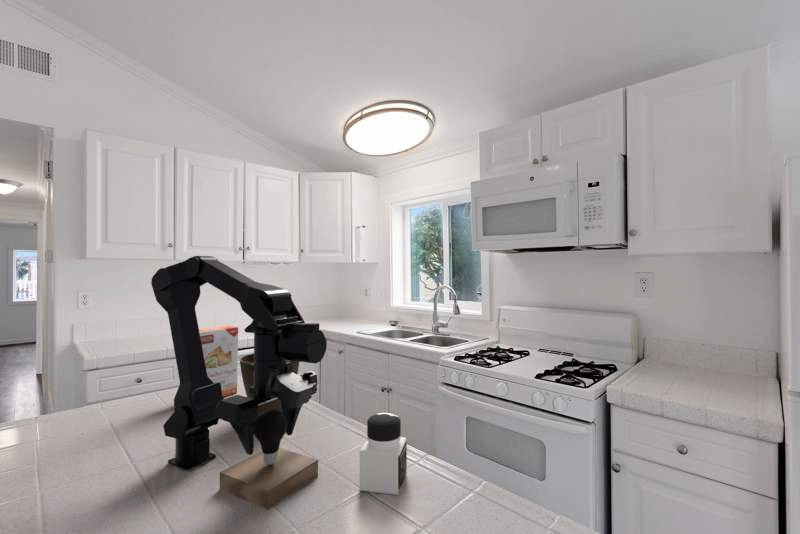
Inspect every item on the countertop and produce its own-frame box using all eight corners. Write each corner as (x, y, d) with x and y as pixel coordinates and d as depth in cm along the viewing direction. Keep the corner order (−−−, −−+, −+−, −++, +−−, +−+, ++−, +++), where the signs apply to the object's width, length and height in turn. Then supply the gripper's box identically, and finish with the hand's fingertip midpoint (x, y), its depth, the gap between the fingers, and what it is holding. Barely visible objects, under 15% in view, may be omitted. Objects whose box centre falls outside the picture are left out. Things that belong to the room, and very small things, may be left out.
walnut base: (219, 489, 70) (219, 472, 70) (272, 460, 80) (272, 445, 80) (268, 509, 64) (268, 490, 64) (318, 475, 74) (318, 459, 74)
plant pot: (230, 417, 103) (230, 356, 103) (284, 404, 113) (284, 348, 114) (253, 435, 92) (253, 366, 92) (310, 418, 102) (310, 356, 102)
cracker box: (194, 406, 112) (194, 332, 112) (183, 402, 115) (183, 330, 115) (238, 393, 123) (238, 326, 124) (227, 390, 127) (227, 324, 127)
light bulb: (294, 463, 73) (294, 408, 73) (268, 477, 68) (268, 418, 68) (272, 455, 76) (272, 402, 76) (246, 468, 71) (246, 412, 71)
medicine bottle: (399, 496, 68) (399, 425, 68) (359, 491, 69) (359, 422, 69) (406, 474, 75) (406, 411, 75) (370, 471, 76) (370, 408, 76)
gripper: (260, 375, 60) (260, 479, 60) (338, 353, 76) (338, 434, 76) (213, 366, 65) (213, 461, 65) (295, 347, 82) (295, 423, 82)
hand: (270, 444), depth 72 cm, fingers open, 9 cm apart
